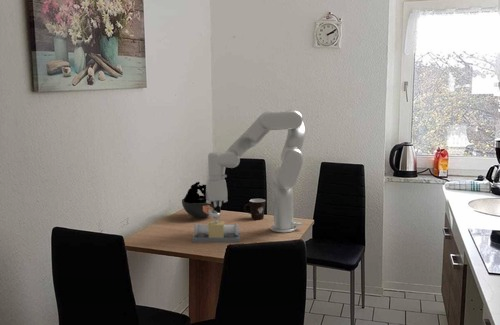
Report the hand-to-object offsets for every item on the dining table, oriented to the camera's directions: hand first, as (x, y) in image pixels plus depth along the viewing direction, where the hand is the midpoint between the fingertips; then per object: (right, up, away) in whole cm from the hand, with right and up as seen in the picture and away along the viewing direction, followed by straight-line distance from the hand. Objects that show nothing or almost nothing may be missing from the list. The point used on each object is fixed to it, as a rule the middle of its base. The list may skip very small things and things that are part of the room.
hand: (217, 214), depth 264 cm
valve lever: (-3, 0, -5) cm, 5 cm away
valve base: (0, -11, -10) cm, 14 cm away
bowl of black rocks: (-11, -5, +31) cm, 34 cm away
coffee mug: (+19, -5, +27) cm, 34 cm away
